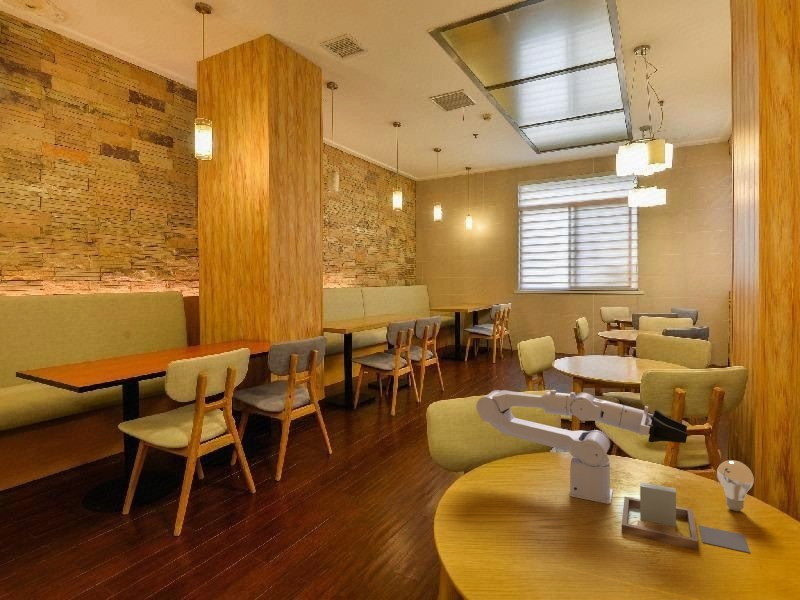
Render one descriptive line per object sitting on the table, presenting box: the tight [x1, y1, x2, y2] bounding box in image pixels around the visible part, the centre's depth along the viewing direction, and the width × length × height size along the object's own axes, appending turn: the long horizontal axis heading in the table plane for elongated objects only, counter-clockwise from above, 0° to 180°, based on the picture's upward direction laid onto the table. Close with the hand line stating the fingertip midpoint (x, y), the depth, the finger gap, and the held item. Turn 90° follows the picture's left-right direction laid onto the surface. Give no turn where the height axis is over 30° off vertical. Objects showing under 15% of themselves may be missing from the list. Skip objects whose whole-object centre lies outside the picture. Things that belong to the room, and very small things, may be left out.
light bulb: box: [716, 459, 755, 513], centre depth 105 cm, size 7×7×12 cm
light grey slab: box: [639, 482, 677, 528], centre depth 101 cm, size 7×2×8 cm, turn 61°
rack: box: [621, 496, 699, 551], centre depth 100 cm, size 14×14×2 cm
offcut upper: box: [637, 520, 677, 534], centre depth 97 cm, size 7×3×1 cm, turn 64°
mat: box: [698, 525, 751, 554], centre depth 94 cm, size 8×7×1 cm
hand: (686, 434), depth 103 cm, fingers open, 7 cm apart
